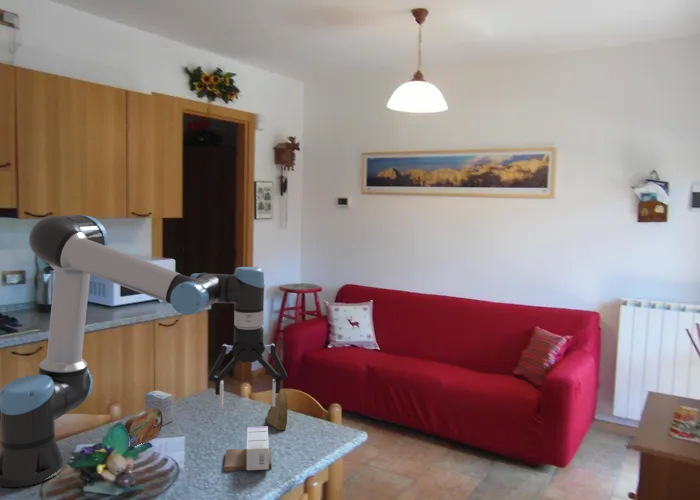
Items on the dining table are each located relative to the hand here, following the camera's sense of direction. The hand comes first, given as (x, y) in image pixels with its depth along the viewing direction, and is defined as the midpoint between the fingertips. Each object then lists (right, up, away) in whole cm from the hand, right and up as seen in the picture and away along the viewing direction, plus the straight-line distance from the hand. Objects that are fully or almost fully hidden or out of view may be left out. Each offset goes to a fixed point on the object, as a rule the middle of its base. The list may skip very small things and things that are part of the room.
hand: (247, 405), depth 147 cm
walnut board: (0, -15, +1) cm, 15 cm away
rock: (+4, -13, +26) cm, 30 cm away
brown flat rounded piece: (-32, -14, +12) cm, 37 cm away
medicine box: (-33, -13, +27) cm, 44 cm away
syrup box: (+4, -12, -7) cm, 14 cm away
